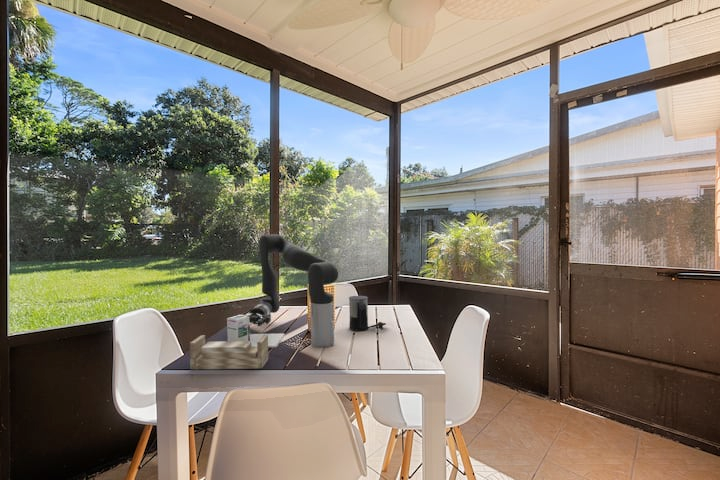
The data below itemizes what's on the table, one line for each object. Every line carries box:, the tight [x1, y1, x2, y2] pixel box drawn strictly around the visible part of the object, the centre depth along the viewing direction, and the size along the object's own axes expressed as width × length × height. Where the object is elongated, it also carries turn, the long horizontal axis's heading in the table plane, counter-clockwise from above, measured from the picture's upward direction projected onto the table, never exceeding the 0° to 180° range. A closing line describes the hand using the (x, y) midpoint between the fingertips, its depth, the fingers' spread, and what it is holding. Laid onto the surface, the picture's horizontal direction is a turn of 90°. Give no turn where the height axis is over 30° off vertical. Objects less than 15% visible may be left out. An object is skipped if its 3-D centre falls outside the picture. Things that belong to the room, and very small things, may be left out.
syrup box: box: [226, 314, 251, 341], centre depth 125 cm, size 6×6×14 cm
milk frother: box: [348, 295, 387, 332], centre depth 157 cm, size 14×16×15 cm
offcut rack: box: [189, 334, 269, 370], centre depth 116 cm, size 24×8×9 cm, turn 91°
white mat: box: [250, 333, 285, 349], centre depth 140 cm, size 16×16×1 cm
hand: (248, 323), depth 136 cm, fingers open, 8 cm apart
